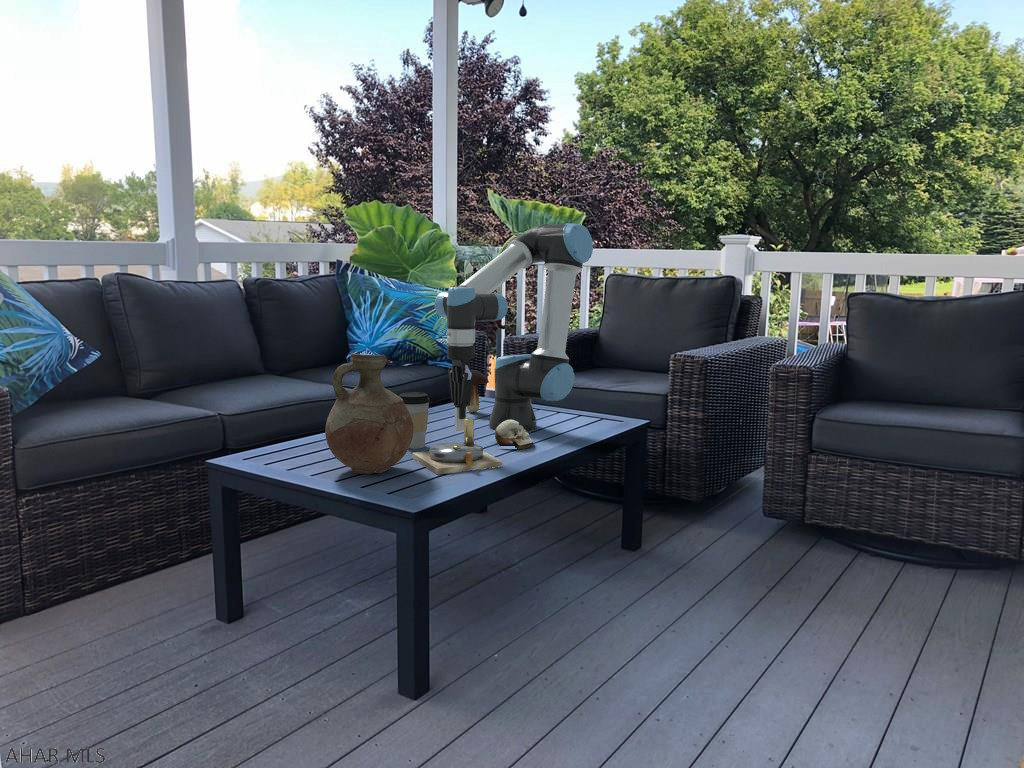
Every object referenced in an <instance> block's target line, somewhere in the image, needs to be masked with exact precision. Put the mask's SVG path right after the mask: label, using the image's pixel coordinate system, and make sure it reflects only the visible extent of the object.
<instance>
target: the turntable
mask: <svg viewBox="0 0 1024 768" xmlns="http://www.w3.org/2000/svg"><path fill="white" fill-rule="evenodd" d="M463 433H464V435H463V436H464V437H463V442H459V441H458V442H442V443H438V444H435V445H432V446H430V448H429V451H430V458H431V459H433V460H436V461H441V462H452V463H460V462H466V452H471V453H472V461H476V460H479V459H481V458H482V457H483V452H484V447H483V446H482V445H479V444H476V443H475V418H473V417H466V418H465V419H464V430H463Z"/></svg>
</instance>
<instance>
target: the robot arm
mask: <svg viewBox="0 0 1024 768" xmlns="http://www.w3.org/2000/svg"><path fill="white" fill-rule="evenodd" d="M593 250H594V243H593V239H592V236H591V234H590V231H589V229H588V228H587V227H586V226H584V225H583V224H580V223H572V222H567V223H549V224H548V223H543V224H542V223H541V224H539V225H535V226H533V227H530V228H528V229H527V230H526V231H523V232H521V234H518V236H515V238H513V239H512V240H511V241H509V242H508V244H507V246H506V249H505V250H504V251H502V252H501V253H499V254H498V255H496V257H494V258H493V259H492V260H490V261H489V262H488V263H486V264H485V265H484V266H482V267H481V268H480V269H479V270H477V271H476V272H475V273H474V274H473V275H471V276H470V277H469V278H467V279H466V280H465V281H464V282H462V283H461V284H459V285H458V286H451V287H449V288H448V290H447V291H442V292H440V293H438V294H437V295H436V297H435V300H434V309H435V312H436V313H437V315H438V316H440V317H442V318H446V320H447V321H446V323H447V325H446V327H447V328H446V330H447V331H446V333H445V336H446V339H447V341H446V343H447V344H448V345H447V346H446V358H447V359H448V360H451V366H449V367H447V372H448V377H449V387H450V388H449V391H450V402H451V403H452V404H453V406H454V431H456V432H460V431H461V432H462V431H464V419H465V418H467V406H470V400H471V391H472V382H473V378H474V372H470V371H471V366H470V365H471V364H470V361H472V360H474V359H475V357H476V354H475V353H476V347H475V345H474V344H475V342H476V323H477V322H496V321H500V320H502V319H504V318H505V317H506V316H507V313H508V308H509V307H508V305H509V304H508V301H507V299H506V297H504V295H502V294H500V293H494V291H495V290H496V289H498V288H499V287H501V286H502V284H504V283H505V282H507V281H509V279H510V278H511V277H513V276H514V275H516V273H518V272H519V271H520V270H522V269H528V268H529V267H530V266H532V265H534V264H537V263H544V265H543V266H544V267H545V269H546V270H547V278H546V287H545V294H544V297H543V307H542V314H541V320H540V325H539V326H540V329H539V333H538V342H537V347H536V349H535V350H534V351H532V352H531V354H528V353H525V354H514V355H512V354H511V355H504V356H503V355H502V356H499V357H497V358H496V359H495V365H494V404H493V407H492V411H491V413H490V417H489V422H488V424H489V428H491V429H492V430H493V429H494V430H496V428H497V427H498V426H499V425H500V424H501V423H502V422H504V421H506V420H515V421H517V422H519V425H521V426H523V428H524V430H525V431H530V430H529V429H531V430H534V429H536V428H537V418H536V414H535V412H534V409H533V405H532V398H534V399H540V400H544V401H549V402H550V401H551V402H552V401H553V402H558V401H563V400H564V399H565V398H566V397H567V396H569V394H570V393H571V391H572V388H573V387H574V383H575V373H574V369H573V367H572V365H571V364H569V362H570V358H569V356H568V355H567V354H566V350H567V341H568V335H569V327H570V321H571V313H572V307H573V306H572V305H573V300H574V299H573V298H574V292H575V284H576V279H577V275H578V274H580V272H582V270H583V265H584V263H587V262H589V260H590V259H591V258H592V255H593V252H594V251H593Z"/></svg>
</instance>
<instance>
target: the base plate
mask: <svg viewBox="0 0 1024 768" xmlns="http://www.w3.org/2000/svg"><path fill="white" fill-rule="evenodd" d="M411 455H412V459H413V460H414V461H416V462H418V463H419V464H420V465H422V466H424V467H425V468H427V469H428V470H429V471H431V472H432V473H434V474H435V475H444V474H445V475H446V474H453V473H462V471H463V472H468V471H467V470H472V471H477V470H476V469H481V470H485V469H484V468H489V469H493V468H492V467H498V466H502V467H503V461H502V460H500V459H498V458H496V457H495V456H493V455H491V454H489V453H487V452H486V451H483V457H482V458H481V459H479V460H476V461H472V453H471V452H466V462H460V463H452V462H441V461H436V460H433V459H431V458H430V450H428V451H418V452H417V451H416V452H412V454H411ZM498 468H499V467H498Z"/></svg>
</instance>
